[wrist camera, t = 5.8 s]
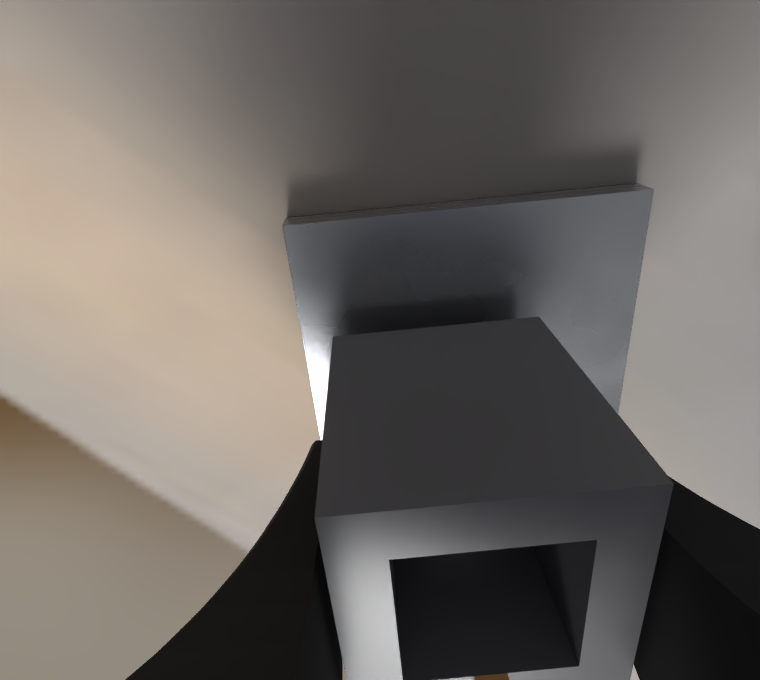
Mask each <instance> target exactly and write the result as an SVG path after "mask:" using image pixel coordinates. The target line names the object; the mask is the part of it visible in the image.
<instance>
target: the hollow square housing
mask: <svg viewBox="0 0 760 680" xmlns="http://www.w3.org/2000/svg"><path fill="white" fill-rule="evenodd" d="M673 485H674V483H673V482H672V481H671V479H670V478H669V477H668V476H667V474H666V473H665V472H664V471H663V470H662V468H661V467H660V466H659V465H658V463H657V462H656V461H655V460H654V458H653V457H652V456H651V455H650V453H649V452H648V451H647V450H646V448H645V447H644V446H643V445H642V443H641V442H640V441H639V440H638V439H637V437H636V436H635V435H634V434H633V432H632V431H631V430H630V429H629V427H628V426H627V425H626V424H625V422H624V421H623V420H622V419H621V417H620V416H619V415H618V414H617V413H616V411H615V410H614V409H613V408H612V406H611V405H610V404H609V403H608V401H607V400H606V399H605V398H604V396H603V395H602V394H601V393H600V391H599V390H598V389H597V388H596V387H595V385H594V384H593V383H592V382H591V380H590V379H589V378H588V377H587V375H586V374H585V373H584V372H583V370H582V369H581V368H580V367H579V365H578V364H577V363H576V362H575V360H574V359H573V358H572V357H571V356H570V354H569V353H568V352H567V351H566V349H565V348H564V347H563V346H562V344H561V343H560V342H559V341H558V339H557V338H556V337H555V336H554V334H553V333H552V332H551V331H550V330H549V328H548V327H547V326H546V325H545V323H544V322H543V321H542V320H541V318H540V317H529V318H519V319H509V320H499V321H488V322H478V323H468V324H458V325H447V326H437V327H427V328H416V329H406V330H396V331H386V332H375V333H365V334H355V335H344V336H334V337H333V338H332V348H331V358H330V368H329V378H328V388H327V398H326V408H325V418H324V428H323V438H322V448H321V458H320V468H319V478H318V489H317V499H316V509H315V523H316V528H317V533H318V538H319V543H320V548H321V553H322V558H323V563H324V568H325V573H326V578H327V584H328V589H329V594H330V599H331V604H332V609H333V614H334V619H335V624H336V629H337V634H338V639H339V644H340V649H341V654H342V659H343V664H344V669H345V674H346V679H347V680H630V677H631V673H632V668H633V664H634V659H635V655H636V650H637V646H638V641H639V637H640V632H641V628H642V623H643V619H644V615H645V610H646V606H647V601H648V597H649V592H650V588H651V583H652V579H653V574H654V570H655V565H656V561H657V556H658V552H659V547H660V543H661V539H662V534H663V530H664V525H665V521H666V516H667V512H668V507H669V503H670V498H671V494H672V489H673Z"/></svg>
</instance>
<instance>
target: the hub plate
mask: <svg viewBox="0 0 760 680" xmlns="http://www.w3.org/2000/svg"><path fill="white" fill-rule="evenodd" d="M653 190H654V189H652V188H649V187H646V186H644V185H641V184H638V183H634V184H624V185H614V186H604V187H594V188H584V189H573V190H563V191H553V192H543V193H533V194H523V195H513V196H503V197H492V198H482V199H472V200H462V201H452V202H442V203H432V204H421V205H411V206H401V207H391V208H381V209H371V210H361V211H351V212H340V213H330V214H320V215H310V216H300V217H290V218H286V220H285V222H284V224H283V232H284V238H285V243H286V249H287V254H288V260H289V265H290V271H291V277H292V282H293V288H294V293H295V299H296V305H297V310H298V316H299V321H300V327H301V332H302V338H303V344H304V349H305V355H306V360H307V366H308V372H309V377H310V383H311V388H312V394H313V399H314V405H315V411H316V416H317V422H318V427H319V433H320V438H321V440H322V438H323V428H324V418H325V408H326V398H327V388H328V378H329V368H330V358H331V348H332V338H333V337H334V336H344V335H355V334H365V333H375V332H386V331H396V330H406V329H416V328H427V327H437V326H447V325H458V324H468V323H478V322H488V321H499V320H509V319H519V318H529V317H540V318H541V320H542V321H543V322H544V323H545V325H546V326H547V327H548V328H549V330H550V331H551V332H552V333H553V334H554V336H555V337H556V338H557V339H558V341H559V342H560V343H561V344H562V346H563V347H564V348H565V349H566V351H567V352H568V353H569V354H570V356H571V357H572V358H573V359H574V360H575V362H576V363H577V364H578V365H579V367H580V368H581V369H582V370H583V372H584V373H585V374H586V375H587V377H588V378H589V379H590V380H591V382H592V383H593V384H594V385H595V387H596V388H597V389H598V390H599V391H600V393H601V394H602V395H603V396H604V398H605V399H606V400H607V401H608V403H609V404H610V405H611V406H612V408H613V409H614V410H615V411H616V413H617V414H618V411H619V405H620V399H621V392H622V386H623V380H624V373H625V367H626V361H627V354H628V348H629V342H630V336H631V329H632V323H633V317H634V310H635V304H636V298H637V291H638V285H639V279H640V272H641V266H642V260H643V254H644V247H645V241H646V235H647V228H648V222H649V216H650V209H651V203H652V197H653Z"/></svg>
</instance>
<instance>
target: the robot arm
mask: <svg viewBox="0 0 760 680" xmlns="http://www.w3.org/2000/svg"><path fill="white" fill-rule="evenodd" d="M321 448H322V440H318V441H315V442H314V443H313V444H312V446H311V448H310V451H309V453H308V455H307V457H306V460H305V462H304V464H303V466H302V468H301V470H300V472H299V474H298V476H297V477H296V479H295V481H294V483H293V485H292V487H291V488H290V490H289V492H288V494H287V495H286V497H285V499H284V501H283V502H282V504H281V506H280V507H279V509H278V511H277V512H276V514H275V515H274V517H273V518H272V520H271V521H270V523H269V524H268V526H267V527H266V529H265V531H264V532H263V534H262V535H261V536H260V538H259V539H258V541H257V542H256V543H255V545H254V546H253V548H252V549H251V550H250V552H249V553H248V554H247V556H246V557H245V558H244V560H243V561H242V562H241V563H240V565H239V566H238V567H237V569H236V570H235V571H234V572H233V573H232V575H231V576H230V577H229V578H228V579H227V581H226V582H225V583H224V584H223V585H222V586H221V587H220V589H219V590H218V591H217V592H216V593H215V594H214V596H213V597H212V598H211V599H210V600H209V601H208V602H207V603H206V604H205V606H204V607H203V608H202V609H201V610H200V611H199V612H198V613H197V614H196V615H195V616H194V617H193V618H192V619H191V620H190V621H189V622H188V623H187V624H186V625H185V626H184V627H183V628H182V629H181V630H180V631H179V632H178V633H177V634H176V635H175V636H174V637H173V638H172V639H171V640H170V641H169V642H168V643H167V644H166V645H164V646H163V647H162V648H161V650H159V651H158V652H157V653H156V654H155V655H154V656H153V657H151V658H150V659H149V660H148V661H147V662H146V663H144V664H143V665H142V666H141V667H140V668H139V669H137V670H136V671H135V672H134V673H133V674H132V675H131V676H129V677H128V678H127V679H126V680H342V654H341V649H340V644H339V639H338V634H337V629H336V624H335V619H334V614H333V609H332V604H331V599H330V594H329V589H328V584H327V578H326V573H325V568H324V563H323V558H322V553H321V548H320V543H319V538H318V533H317V528H316V523H315V509H316V499H317V489H318V478H319V468H320V458H321ZM668 477H669V476H668ZM669 478H670V477H669ZM670 479H671V481H672V482H673V483H674V485H673V489H672V494H671V498H670V503H669V507H668V512H667V516H666V521H665V525H664V530H663V534H662V539H661V543H660V547H659V552H658V556H657V561H656V565H655V570H654V574H653V579H652V583H651V588H650V592H649V597H648V601H647V606H646V610H645V615H644V619H643V623H642V628H641V632H640V637H639V641H638V646H637V650H636V655H635V659H634V666H635V669H636V671H637V674H638V677H639V679H640V680H760V529H758V528H756V527H754V526H752V525H750V524H748V523H747V522H745V521H743V520H741V519H739V518H737V517H736V516H734V515H732V514H730V513H728V512H727V511H725V510H723V509H721V508H719V507H717V506H716V505H714V504H712V503H711V502H709V501H707V500H705V499H704V498H702V497H700V496H699V495H697V494H696V493H694V492H692V491H691V490H689V489H688V488H686V487H684V486H683V485H681V484H680V483H678V482H677V481H675V480H673V479H672V478H670Z"/></svg>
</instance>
